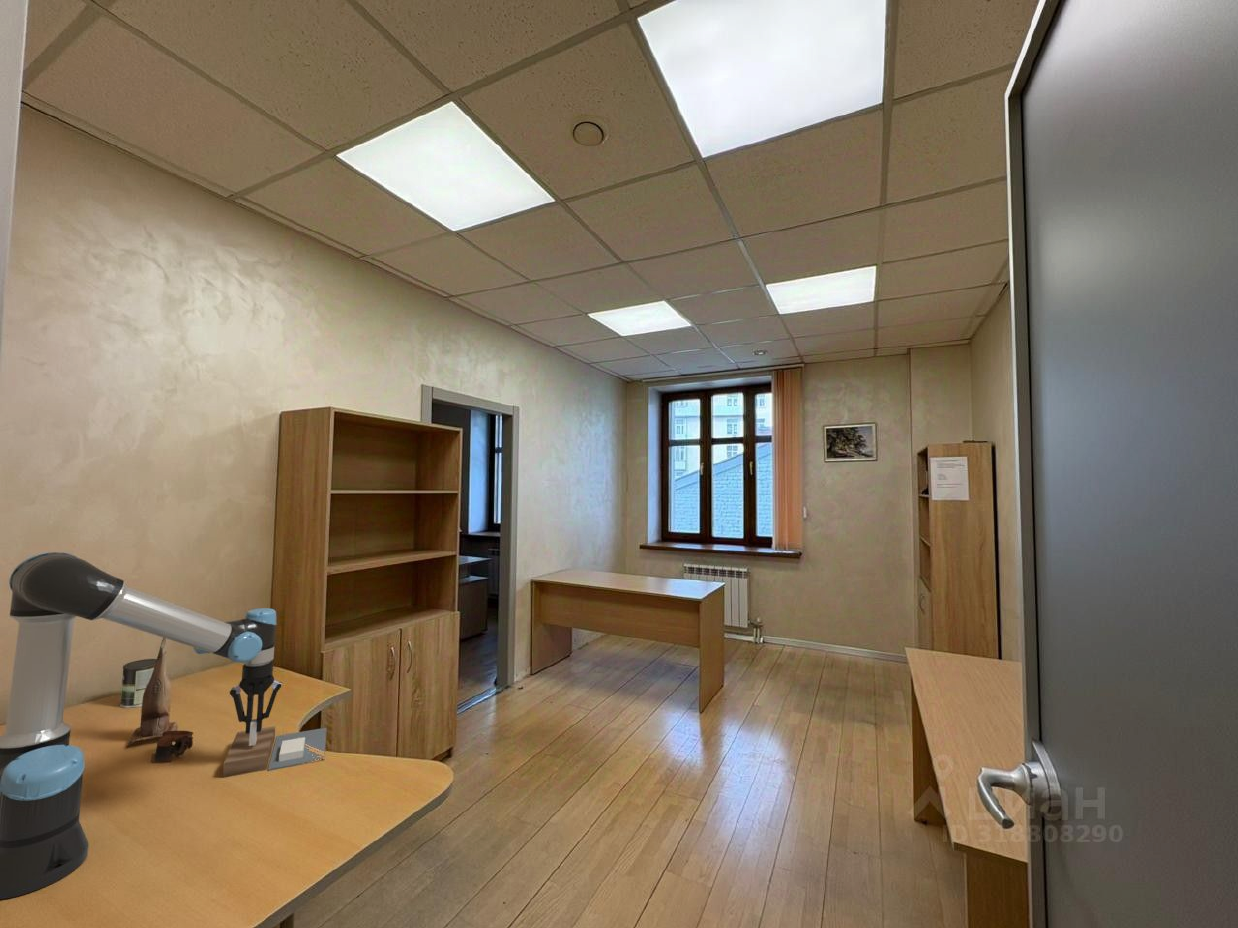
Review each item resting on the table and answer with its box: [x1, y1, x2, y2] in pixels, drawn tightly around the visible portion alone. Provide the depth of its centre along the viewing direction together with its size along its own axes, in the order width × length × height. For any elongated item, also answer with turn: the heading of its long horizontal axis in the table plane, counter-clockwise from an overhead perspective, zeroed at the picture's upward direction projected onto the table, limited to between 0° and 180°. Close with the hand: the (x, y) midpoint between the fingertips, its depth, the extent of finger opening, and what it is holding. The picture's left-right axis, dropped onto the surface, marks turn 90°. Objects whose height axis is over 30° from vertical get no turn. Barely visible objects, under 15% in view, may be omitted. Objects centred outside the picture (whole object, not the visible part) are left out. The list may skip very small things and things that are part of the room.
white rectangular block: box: [279, 737, 305, 761], centre depth 156 cm, size 9×6×2 cm, turn 28°
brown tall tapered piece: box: [125, 637, 179, 750], centre depth 164 cm, size 11×12×32 cm
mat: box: [267, 727, 328, 772], centre depth 160 cm, size 22×14×1 cm, turn 28°
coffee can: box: [119, 658, 157, 709], centre depth 189 cm, size 10×10×14 cm
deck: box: [222, 725, 276, 778], centre depth 154 cm, size 20×10×4 cm, turn 28°
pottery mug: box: [150, 730, 194, 763], centre depth 154 cm, size 12×10×8 cm
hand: (252, 743), depth 152 cm, fingers closed
